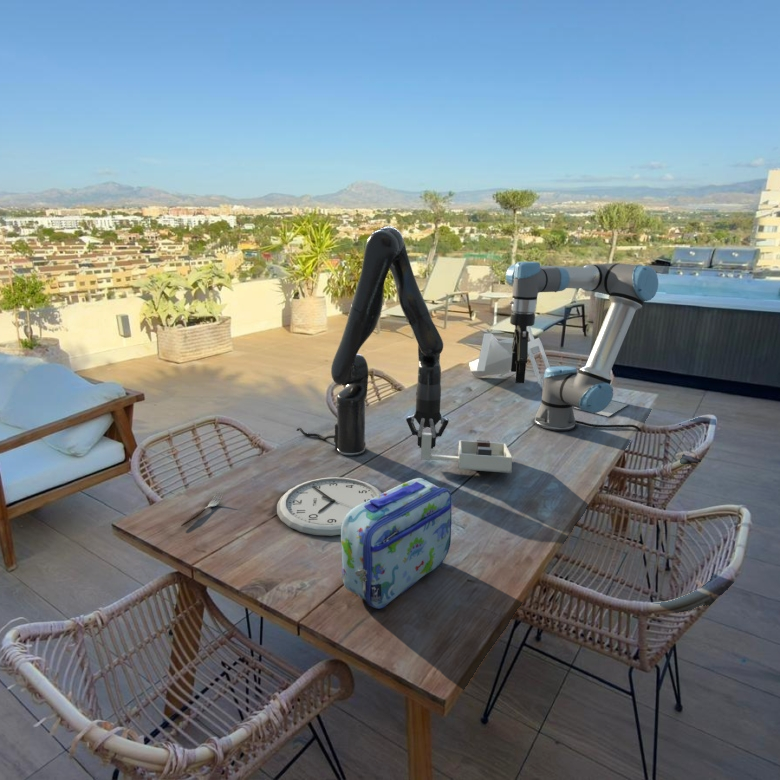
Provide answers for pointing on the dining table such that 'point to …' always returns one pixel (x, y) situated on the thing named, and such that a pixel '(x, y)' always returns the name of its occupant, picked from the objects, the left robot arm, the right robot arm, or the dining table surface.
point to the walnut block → (482, 444)
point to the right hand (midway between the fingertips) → (517, 377)
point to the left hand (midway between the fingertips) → (426, 447)
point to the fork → (211, 504)
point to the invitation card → (610, 408)
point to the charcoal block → (484, 451)
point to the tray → (472, 456)
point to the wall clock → (323, 504)
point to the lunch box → (395, 540)
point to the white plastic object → (504, 356)
